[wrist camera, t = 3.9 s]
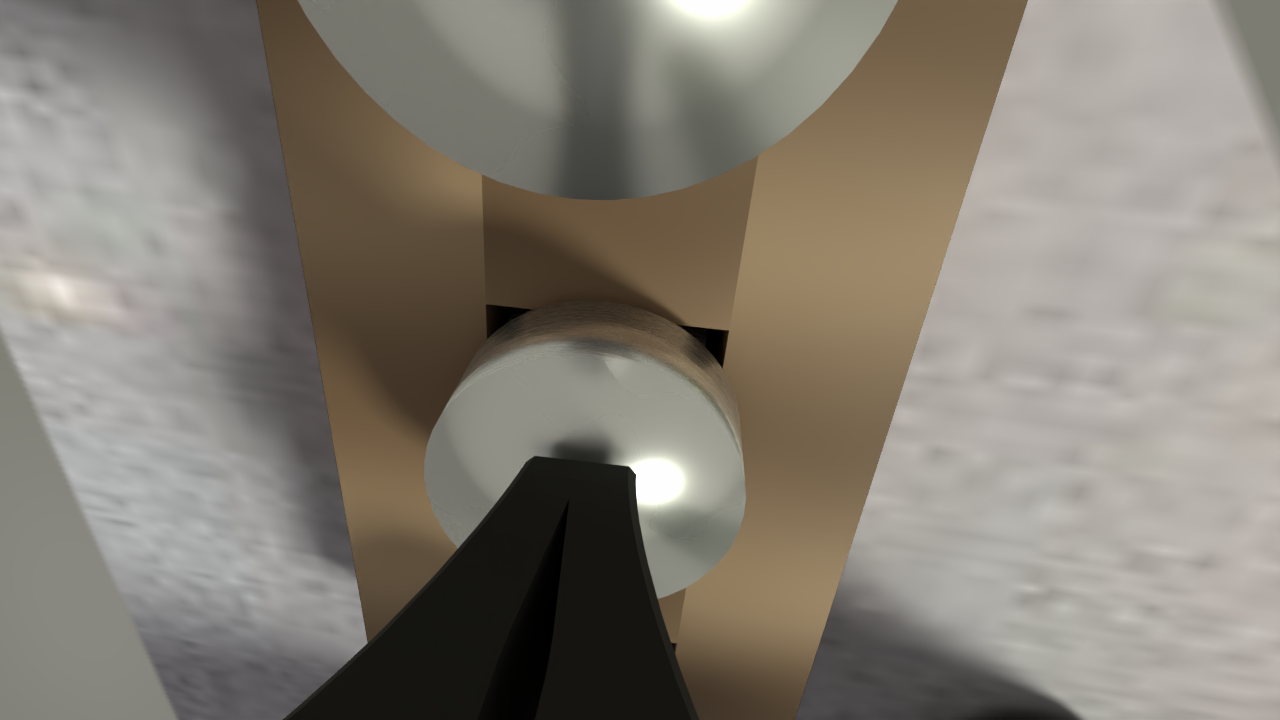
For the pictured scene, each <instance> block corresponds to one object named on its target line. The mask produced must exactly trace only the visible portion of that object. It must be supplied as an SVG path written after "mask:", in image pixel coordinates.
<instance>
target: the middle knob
mask: <svg viewBox="0 0 1280 720" xmlns="http://www.w3.org/2000/svg"><path fill="white" fill-rule="evenodd" d="M534 456H542V457H550V458H559V459H568V460H577V461H586V462H595V463H604V464H612V465H621V466H629V467H630V468H631V469H632V470H633V471H634V472H635V473H636V474H637V478H636V495H637V507H638V514H639V521H640V527H641V532H642V538H643V543H644V548H645V552H646V557H647V561H648V565H649V569H650V573H651V576H652V580H653V584H654V587H655V591H656V595H657V598H658V599H660V598H663V597H666V596H669V595H671V594H673V593H675V592H678V591H680V590H682V589H684V588H686V587H687V586H689V585H691V584H692V583H694V582H696V581H697V580H699V579H700V578H701V577H703V576H704V575H705V574H707V573H708V572H709V571H710V570H712V569H713V568H714V566H715V565H716V564H717V563H718V562H719V561H720V560H721V559H722V558H723V557H724V555H725V554H726V553H727V551H728V550H729V548H730V547H731V546H732V544H733V542H734V540H735V538H736V536H737V534H738V532H739V530H740V526H741V523H742V520H743V516H744V510H745V502H746V490H745V475H744V463H743V451H742V439H741V427H740V415H739V409H738V405H737V400H736V396H735V394H734V391H733V389H732V386H731V383H730V381H729V379H728V378H727V376H726V374H725V372H724V371H723V369H722V367H721V366H720V364H719V363H718V362H717V361H716V359H715V358H714V357H713V355H712V354H711V353H710V352H709V351H708V350H707V349H706V328H701V327H692V326H683V325H676V324H674V323H672V322H670V321H669V320H667V319H665V318H663V317H661V316H658V315H656V314H654V313H651V312H649V311H646V310H643V309H640V308H636V307H633V306H630V305H626V304H620V303H614V302H608V301H591V300H583V301H569V302H562V303H557V304H552V305H547V306H544V307H541V308H538V309H526V308H517V307H515V308H514V310H513V312H512V314H511V316H510V318H509V320H508V322H507V324H505V325H504V326H502V327H501V328H499V329H498V330H497V331H496V332H495V333H493V334H492V335H491V336H490V337H489V338H488V339H487V340H486V341H485V342H484V343H483V345H482V346H481V347H480V348H479V350H478V351H477V352H476V353H475V355H474V357H473V359H472V360H471V362H470V364H469V366H468V367H467V369H466V371H465V373H464V375H463V376H462V378H461V380H460V382H459V384H458V385H457V387H456V389H455V391H454V392H453V394H452V396H451V398H450V400H449V401H448V403H447V405H446V407H445V409H444V410H443V412H442V414H441V416H440V417H439V419H438V421H437V423H436V425H435V426H434V428H433V430H432V433H431V436H430V438H429V441H428V444H427V448H426V455H425V461H424V479H425V484H426V490H427V495H428V498H429V501H430V504H431V507H432V510H433V512H434V514H435V516H436V518H437V520H438V522H439V524H440V526H441V527H442V528H443V530H444V531H445V533H446V534H447V536H448V537H449V539H450V540H451V541H452V542H453V543H454V544H455V545H456V547H457V548H459V547H460V546H461V544H462V543H463V542H464V541H465V540H466V539H467V538H468V536H469V535H470V534H471V533H472V532H473V531H474V530H475V528H476V527H477V526H478V525H479V523H480V522H481V521H482V520H483V518H484V517H485V516H486V515H487V514H488V512H489V511H490V510H491V509H492V507H493V506H494V505H495V504H496V502H497V501H498V500H499V498H500V497H501V496H502V495H503V493H504V492H505V491H506V489H507V488H508V487H509V485H510V484H511V483H512V481H513V480H514V478H515V477H516V476H517V474H518V473H519V471H520V470H521V468H522V467H523V466H524V464H525V463H526V462H527V461H528V460H529V459H531V458H532V457H534Z"/></svg>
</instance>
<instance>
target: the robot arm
mask: <svg viewBox="0 0 1280 720" xmlns="http://www.w3.org/2000/svg"><path fill="white" fill-rule="evenodd" d="M636 478H637V474H636V473H635V472H634V471H633V470H632V469H631V468H630V467H629V466H621V465H612V464H604V463H595V462H586V461H577V460H568V459H559V458H550V457H542V456H534V457H532V458H531V459H529V460H528V461H527V462H526V463H525V464H524V466H523V467H522V468H521V470H520V471H519V473H518V474H517V476H516V477H515V478H514V480H513V481H512V483H511V484H510V485H509V487H508V488H507V489H506V491H505V492H504V493H503V495H502V496H501V497H500V498H499V500H498V501H497V502H496V504H495V505H494V506H493V507H492V509H491V510H490V511H489V512H488V514H487V515H486V516H485V517H484V518H483V520H482V521H481V522H480V523H479V525H478V526H477V527H476V528H475V530H474V531H473V532H472V533H471V534H470V535H469V536H468V538H467V539H466V540H465V541H464V542H463V543H462V544H461V546H460V547H459V548H458V549H457V550H456V551H455V552H454V554H453V555H452V556H451V557H450V558H449V559H448V560H447V562H446V563H445V564H444V565H443V566H442V567H441V568H440V570H439V571H438V572H437V573H436V574H435V575H434V576H433V577H432V578H431V579H430V581H429V582H428V583H427V584H426V585H425V586H424V587H423V588H422V589H421V590H420V591H419V592H418V593H417V594H416V595H415V596H414V597H413V598H412V599H411V600H410V601H409V602H408V603H407V604H406V605H405V606H404V607H403V608H402V609H401V610H400V611H399V612H398V613H397V614H396V616H395V617H394V618H393V619H392V620H391V621H390V622H389V623H388V624H387V625H386V626H385V627H384V628H383V629H382V630H381V631H380V632H379V633H378V634H377V635H376V636H375V637H374V638H373V639H372V640H371V641H370V642H369V643H368V644H366V645H365V646H364V647H363V648H362V649H361V650H360V651H359V652H358V653H357V654H356V655H355V656H354V657H353V658H352V659H351V660H350V661H348V662H347V663H346V664H345V665H344V666H343V667H342V668H341V669H340V670H339V671H338V672H337V673H335V674H334V675H333V676H332V677H331V678H330V679H329V680H328V681H327V682H325V683H324V684H323V685H322V686H321V687H320V688H319V689H317V690H316V691H315V692H314V693H313V694H312V695H311V696H310V697H308V698H307V699H306V700H305V701H304V702H303V703H302V704H301V705H299V706H298V707H297V708H296V709H295V710H294V711H292V712H291V713H290V714H289V715H288V716H287V717H285V718H284V719H283V720H699V717H698V715H697V712H696V710H695V707H694V705H693V702H692V700H691V697H690V694H689V692H688V689H687V686H686V684H685V681H684V678H683V675H682V673H681V670H680V667H679V664H678V661H677V658H676V655H675V652H674V650H673V647H672V644H671V641H670V638H669V635H668V632H667V629H666V625H665V622H664V619H663V616H662V613H661V609H660V606H659V602H658V598H657V595H656V591H655V587H654V584H653V580H652V576H651V573H650V569H649V565H648V561H647V557H646V552H645V548H644V543H643V538H642V532H641V527H640V521H639V514H638V507H637V495H636Z"/></svg>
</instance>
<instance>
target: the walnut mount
mask: <svg viewBox="0 0 1280 720" xmlns="http://www.w3.org/2000/svg"><path fill="white" fill-rule="evenodd" d="M1027 1H1028V0H898V1H897V3H896V5H895V7H894V9H893V10H892V12H891V14H890V16H889V17H888V19H887V21H886V23H885V25H884V26H883V28H882V30H881V32H880V33H879V35H878V36H877V37H876V39H875V40H874V42H873V43H872V44H871V46H870V47H869V49H868V50H867V51H866V53H865V54H864V56H863V57H862V58H861V60H860V61H859V63H858V64H857V65H856V67H855V68H854V70H853V71H852V72H851V73H850V74H849V76H848V77H847V78H846V79H845V80H844V81H843V82H842V83H841V84H840V86H839V87H838V88H837V89H836V90H835V91H834V92H833V93H832V94H831V95H830V97H829V98H828V99H827V100H826V101H825V102H824V103H823V104H822V105H821V106H820V107H819V108H818V109H817V110H816V111H815V112H813V113H812V114H811V115H810V116H809V117H808V118H807V119H805V120H804V121H803V122H802V123H801V124H800V125H799V126H797V127H796V128H795V129H794V130H793V131H792V132H791V133H789V134H788V135H787V136H785V137H784V138H782V139H781V140H779V141H778V142H777V143H775V144H774V145H772V146H771V147H769V148H768V149H766V150H765V151H763V152H762V153H760V154H759V155H757V156H756V157H755V158H753V159H751V160H749V161H747V162H745V163H743V164H741V165H739V166H737V167H735V168H733V169H731V170H729V171H727V172H725V173H723V174H721V175H719V176H717V177H714V178H711V179H709V180H706V181H703V182H700V183H698V184H695V185H692V186H689V187H687V188H684V189H680V190H676V191H671V192H667V193H662V194H658V195H653V196H649V197H641V198H630V199H619V200H587V199H569V198H564V197H558V196H552V195H546V194H540V193H535V192H531V191H528V190H525V189H521V188H518V187H515V186H511V185H508V184H505V183H501V182H498V181H496V180H494V179H491V178H489V177H487V176H485V175H482V174H480V173H478V172H476V171H473V170H471V169H469V168H466V167H464V166H462V165H461V164H459V163H457V162H455V161H454V160H452V159H450V158H449V157H447V156H445V155H444V154H442V153H440V152H439V151H437V150H435V149H433V148H432V147H430V146H428V145H427V144H426V143H424V142H423V141H422V140H420V139H419V138H418V137H416V136H415V135H414V134H413V133H411V132H410V131H409V130H407V129H406V128H405V127H403V126H402V125H401V124H399V123H398V122H397V121H395V120H394V119H393V118H392V117H391V116H390V115H389V114H388V113H387V112H386V111H385V110H384V109H383V108H382V107H380V106H379V105H378V104H377V103H376V102H375V101H374V100H373V99H372V98H371V97H370V96H369V95H368V94H367V93H366V92H365V91H364V90H363V89H362V88H361V87H360V86H359V85H358V83H357V82H356V81H355V80H354V79H353V78H352V76H351V75H350V74H349V73H348V72H347V71H346V69H345V68H344V67H343V66H342V65H341V64H340V63H339V61H338V60H337V59H336V58H335V57H334V55H333V54H332V52H331V51H330V50H329V48H328V47H327V45H326V44H325V42H324V41H323V39H322V38H321V37H320V35H319V34H318V32H317V31H316V29H315V28H314V27H313V25H312V24H311V22H310V21H309V19H308V18H307V16H306V14H305V13H304V11H303V9H302V7H301V5H300V4H299V2H298V0H256V2H257V8H258V13H259V19H260V25H261V31H262V36H263V42H264V48H265V54H266V59H267V65H268V71H269V77H270V82H271V88H272V94H273V100H274V105H275V111H276V117H277V123H278V128H279V134H280V140H281V146H282V152H283V157H284V163H285V169H286V175H287V180H288V186H289V192H290V198H291V203H292V209H293V215H294V221H295V226H296V232H297V238H298V244H299V249H300V255H301V261H302V267H303V272H304V278H305V284H306V290H307V295H308V301H309V307H310V313H311V318H312V324H313V330H314V336H315V341H316V347H317V353H318V359H319V364H320V370H321V376H322V382H323V387H324V393H325V399H326V405H327V410H328V416H329V422H330V428H331V434H332V439H333V445H334V451H335V457H336V462H337V468H338V474H339V480H340V485H341V491H342V497H343V503H344V508H345V514H346V520H347V526H348V531H349V537H350V543H351V549H352V554H353V560H354V566H355V572H356V577H357V583H358V589H359V595H360V600H361V606H362V612H363V618H364V623H365V629H366V635H367V641H368V643H369V642H370V641H371V640H372V639H373V638H374V637H375V636H376V635H377V634H378V633H379V632H380V631H381V630H382V629H383V628H384V627H385V626H386V625H387V624H388V623H389V622H390V621H391V620H392V619H393V618H394V617H395V616H396V614H397V613H398V612H399V611H400V610H401V609H402V608H403V607H404V606H405V605H406V604H407V603H408V602H409V601H410V600H411V599H412V598H413V597H414V596H415V595H416V594H417V593H418V592H419V591H420V590H421V589H422V588H423V587H424V586H425V585H426V584H427V583H428V582H429V581H430V579H431V578H432V577H433V576H434V575H435V574H436V573H437V572H438V571H439V570H440V568H441V567H442V566H443V565H444V564H445V563H446V562H447V560H448V559H449V558H450V557H451V556H452V555H453V554H454V552H455V551H456V550H457V549H458V548H457V547H456V545H455V544H454V543H453V542H452V541H451V540H450V539H449V537H448V536H447V534H446V533H445V531H444V530H443V528H442V527H441V526H440V524H439V522H438V520H437V518H436V516H435V514H434V512H433V510H432V507H431V504H430V501H429V498H428V495H427V490H426V484H425V479H424V461H425V455H426V448H427V444H428V441H429V438H430V436H431V433H432V430H433V428H434V426H435V425H436V423H437V421H438V419H439V417H440V416H441V414H442V412H443V410H444V409H445V407H446V405H447V403H448V401H449V400H450V398H451V396H452V394H453V392H454V391H455V389H456V387H457V385H458V384H459V382H460V380H461V378H462V376H463V375H464V373H465V371H466V369H467V367H468V366H469V364H470V362H471V360H472V359H473V357H474V355H475V353H476V352H477V351H478V350H479V348H480V347H481V346H482V345H483V343H484V342H485V341H486V340H487V339H488V338H489V337H490V336H491V335H492V334H493V333H495V332H496V331H497V330H498V329H499V328H501V327H502V326H504V325H505V324H507V322H508V320H509V318H510V316H511V314H512V312H513V310H514V308H515V307H517V308H526V309H538V308H541V307H544V306H547V305H552V304H557V303H562V302H569V301H583V300H591V301H608V302H614V303H620V304H626V305H630V306H633V307H636V308H640V309H643V310H646V311H649V312H651V313H654V314H656V315H658V316H661V317H663V318H665V319H667V320H669V321H670V322H672V323H674V324H676V325H683V326H692V327H701V328H708V332H707V339H706V349H707V350H708V351H709V352H710V353H711V354H712V355H713V357H714V358H715V359H716V361H717V362H718V363H719V364H720V366H721V367H722V369H723V371H724V372H725V374H726V376H727V378H728V379H729V381H730V383H731V386H732V389H733V391H734V394H735V396H736V400H737V405H738V409H739V415H740V427H741V439H742V451H743V463H744V475H745V490H746V502H745V510H744V516H743V520H742V523H741V526H740V530H739V532H738V534H737V536H736V538H735V540H734V542H733V544H732V546H731V547H730V548H729V550H728V551H727V553H726V554H725V555H724V557H723V558H722V559H721V560H720V561H719V562H718V563H717V564H716V565H715V566H714V568H713V569H712V570H710V571H709V572H708V573H707V574H705V575H704V576H703V577H701V578H700V579H699V580H697V581H696V582H694V583H692V584H691V585H689V586H687V587H686V588H684V589H682V590H680V591H678V592H675V593H673V594H671V595H669V596H666V597H663V598H660V599H658V602H659V606H660V609H661V613H662V616H663V619H664V622H665V625H666V629H667V632H668V635H669V638H670V641H671V644H672V647H673V650H674V652H675V655H676V658H677V661H678V664H679V667H680V670H681V673H682V675H683V678H684V681H685V684H686V686H687V689H688V692H689V694H690V697H691V700H692V702H693V705H694V707H695V710H696V712H697V715H698V717H699V720H795V717H796V714H797V711H798V708H799V705H800V702H801V699H802V695H803V692H804V689H805V686H806V683H807V680H808V677H809V674H810V671H811V668H812V665H813V661H814V658H815V655H816V652H817V649H818V646H819V643H820V640H821V637H822V634H823V631H824V628H825V624H826V621H827V618H828V615H829V612H830V609H831V606H832V603H833V600H834V597H835V594H836V591H837V587H838V584H839V581H840V578H841V575H842V572H843V569H844V566H845V563H846V560H847V557H848V553H849V550H850V547H851V544H852V541H853V538H854V535H855V532H856V529H857V526H858V523H859V520H860V516H861V513H862V510H863V507H864V504H865V501H866V498H867V495H868V492H869V489H870V486H871V483H872V479H873V476H874V473H875V470H876V467H877V464H878V461H879V458H880V455H881V452H882V449H883V445H884V442H885V439H886V436H887V433H888V430H889V427H890V424H891V421H892V418H893V415H894V412H895V408H896V405H897V402H898V399H899V396H900V393H901V390H902V387H903V384H904V381H905V378H906V375H907V371H908V368H909V365H910V362H911V359H912V356H913V353H914V350H915V347H916V344H917V341H918V337H919V334H920V331H921V328H922V325H923V322H924V319H925V316H926V313H927V310H928V307H929V304H930V300H931V297H932V294H933V291H934V288H935V285H936V282H937V279H938V276H939V273H940V270H941V267H942V263H943V260H944V257H945V254H946V251H947V248H948V245H949V242H950V239H951V236H952V233H953V229H954V226H955V223H956V220H957V217H958V214H959V211H960V208H961V205H962V202H963V199H964V196H965V192H966V189H967V186H968V183H969V180H970V177H971V174H972V171H973V168H974V165H975V162H976V159H977V155H978V152H979V149H980V146H981V143H982V140H983V137H984V134H985V131H986V128H987V125H988V121H989V118H990V115H991V112H992V109H993V106H994V103H995V100H996V97H997V94H998V91H999V88H1000V84H1001V81H1002V78H1003V75H1004V72H1005V69H1006V66H1007V63H1008V60H1009V57H1010V54H1011V51H1012V47H1013V44H1014V41H1015V38H1016V35H1017V32H1018V29H1019V26H1020V23H1021V20H1022V17H1023V13H1024V10H1025V7H1026V4H1027Z"/></svg>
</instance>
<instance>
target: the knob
mask: <svg viewBox="0 0 1280 720" xmlns="http://www.w3.org/2000/svg"><path fill="white" fill-rule="evenodd" d="M897 1H898V0H298V2H299V4H300V5H301V7H302V9H303V11H304V13H305V14H306V16H307V18H308V19H309V21H310V22H311V24H312V25H313V27H314V28H315V29H316V31H317V32H318V34H319V35H320V37H321V38H322V39H323V41H324V42H325V44H326V45H327V47H328V48H329V50H330V51H331V52H332V54H333V55H334V57H335V58H336V59H337V60H338V61H339V63H340V64H341V65H342V66H343V67H344V68H345V69H346V71H347V72H348V73H349V74H350V75H351V76H352V78H353V79H354V80H355V81H356V82H357V83H358V85H359V86H360V87H361V88H362V89H363V90H364V91H365V92H366V93H367V94H368V95H369V96H370V97H371V98H372V99H373V100H374V101H375V102H376V103H377V104H378V105H379V106H380V107H382V108H383V109H384V110H385V111H386V112H387V113H388V114H389V115H390V116H391V117H392V118H393V119H394V120H395V121H397V122H398V123H399V124H401V125H402V126H403V127H405V128H406V129H407V130H409V131H410V132H411V133H413V134H414V135H415V136H416V137H418V138H419V139H420V140H422V141H423V142H424V143H426V144H427V145H428V146H430V147H432V148H433V149H435V150H437V151H439V152H440V153H442V154H444V155H445V156H447V157H449V158H450V159H452V160H454V161H455V162H457V163H459V164H461V165H462V166H464V167H466V168H469V169H471V170H473V171H476V172H478V173H480V174H482V175H485V176H487V177H489V178H491V179H494V180H496V181H498V182H501V183H505V184H508V185H511V186H515V187H518V188H521V189H525V190H528V191H531V192H535V193H540V194H546V195H552V196H558V197H564V198H569V199H587V200H619V199H630V198H641V197H649V196H653V195H658V194H662V193H667V192H671V191H676V190H680V189H684V188H687V187H689V186H692V185H695V184H698V183H700V182H703V181H706V180H709V179H711V178H714V177H717V176H719V175H721V174H723V173H725V172H727V171H729V170H731V169H733V168H735V167H737V166H739V165H741V164H743V163H745V162H747V161H749V160H751V159H753V158H755V157H756V156H757V155H759V154H760V153H762V152H763V151H765V150H766V149H768V148H769V147H771V146H772V145H774V144H775V143H777V142H778V141H779V140H781V139H782V138H784V137H785V136H787V135H788V134H789V133H791V132H792V131H793V130H794V129H795V128H796V127H797V126H799V125H800V124H801V123H802V122H803V121H804V120H805V119H807V118H808V117H809V116H810V115H811V114H812V113H813V112H815V111H816V110H817V109H818V108H819V107H820V106H821V105H822V104H823V103H824V102H825V101H826V100H827V99H828V98H829V97H830V95H831V94H832V93H833V92H834V91H835V90H836V89H837V88H838V87H839V86H840V84H841V83H842V82H843V81H844V80H845V79H846V78H847V77H848V76H849V74H850V73H851V72H852V71H853V70H854V68H855V67H856V65H857V64H858V63H859V61H860V60H861V58H862V57H863V56H864V54H865V53H866V51H867V50H868V49H869V47H870V46H871V44H872V43H873V42H874V40H875V39H876V37H877V36H878V35H879V33H880V32H881V30H882V28H883V26H884V25H885V23H886V21H887V19H888V17H889V16H890V14H891V12H892V10H893V9H894V7H895V5H896V3H897Z"/></svg>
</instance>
